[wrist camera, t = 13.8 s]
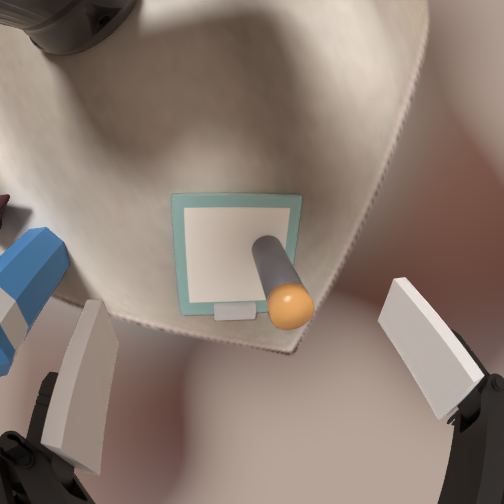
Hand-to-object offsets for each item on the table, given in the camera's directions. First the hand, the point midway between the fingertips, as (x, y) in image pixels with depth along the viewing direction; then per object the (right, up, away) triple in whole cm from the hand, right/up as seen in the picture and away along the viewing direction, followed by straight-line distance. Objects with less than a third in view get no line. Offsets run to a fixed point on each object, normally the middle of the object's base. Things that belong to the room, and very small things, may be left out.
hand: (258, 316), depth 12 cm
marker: (+2, +3, +25) cm, 25 cm away
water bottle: (-31, +2, +21) cm, 38 cm away
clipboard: (-3, +2, +26) cm, 27 cm away
